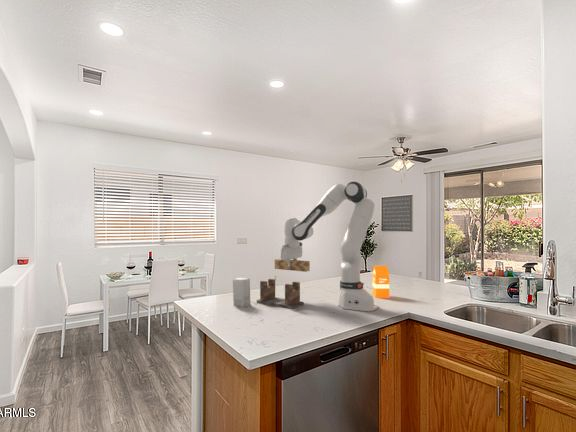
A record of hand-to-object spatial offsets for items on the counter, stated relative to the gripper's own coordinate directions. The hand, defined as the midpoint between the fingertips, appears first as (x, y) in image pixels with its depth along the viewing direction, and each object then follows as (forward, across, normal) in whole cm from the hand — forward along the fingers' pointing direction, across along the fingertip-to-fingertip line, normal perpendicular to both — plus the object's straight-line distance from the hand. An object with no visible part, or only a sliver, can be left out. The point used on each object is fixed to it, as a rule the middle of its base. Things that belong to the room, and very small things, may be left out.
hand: (291, 265), depth 201 cm
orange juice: (+22, +38, -45) cm, 62 cm away
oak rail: (+2, 0, 0) cm, 3 cm away
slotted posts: (+21, -13, 0) cm, 25 cm away
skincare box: (+21, -28, +17) cm, 39 cm away
